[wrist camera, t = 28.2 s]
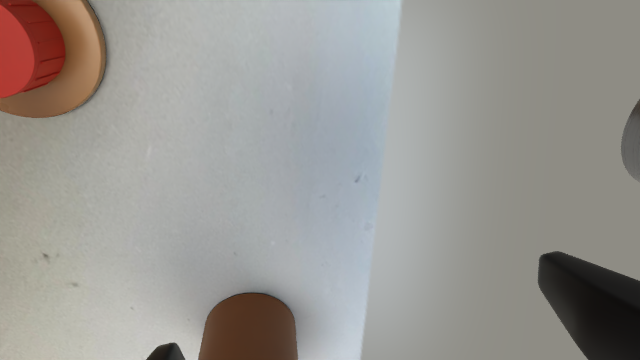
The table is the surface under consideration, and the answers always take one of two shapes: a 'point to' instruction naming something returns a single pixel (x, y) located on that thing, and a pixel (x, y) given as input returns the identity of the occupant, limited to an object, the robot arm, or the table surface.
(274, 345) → the bottle
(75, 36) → the coaster
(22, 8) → the cap
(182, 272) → the table surface
